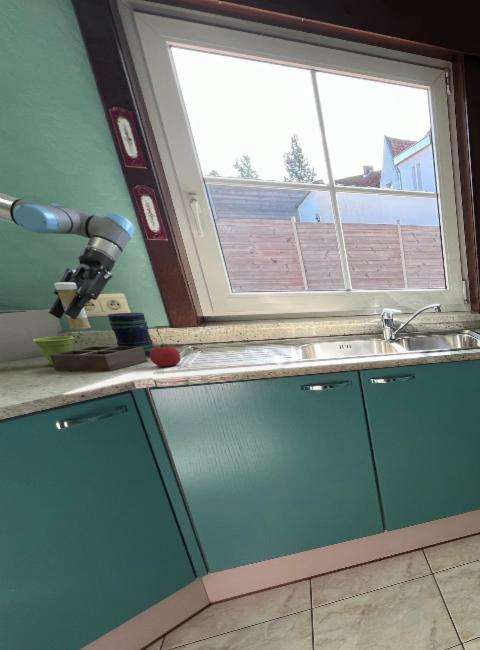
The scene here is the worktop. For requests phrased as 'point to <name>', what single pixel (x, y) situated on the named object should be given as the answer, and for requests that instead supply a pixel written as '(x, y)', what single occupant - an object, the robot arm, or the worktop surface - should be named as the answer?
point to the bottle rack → (98, 358)
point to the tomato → (164, 356)
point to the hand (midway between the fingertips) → (62, 315)
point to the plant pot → (54, 345)
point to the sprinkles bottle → (66, 295)
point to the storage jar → (131, 330)
